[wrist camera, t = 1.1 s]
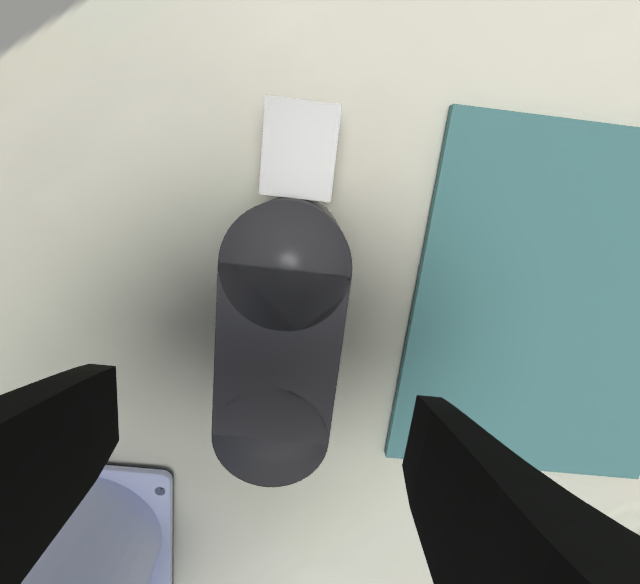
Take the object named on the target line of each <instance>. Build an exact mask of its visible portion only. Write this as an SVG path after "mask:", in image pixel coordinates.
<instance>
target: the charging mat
mask: <svg viewBox="0 0 640 584" xmlns="http://www.w3.org/2000/svg"><path fill="white" fill-rule="evenodd" d="M417 395H423V396H434V397H442V398H444V399H445V400H447V401H448V402H450V403H451V404H452V405H454V406H455V407H456V408H458V409H459V410H460V411H462V412H463V413H464V414H466V415H467V416H468V417H469V418H471V419H472V420H473V421H474V422H476V423H477V424H478V425H480V426H481V427H482V428H483V429H485V430H486V431H487V432H488V433H490V434H491V435H492V436H494V437H495V438H496V439H497V440H499V441H500V442H501V443H503V444H504V445H505V446H506V447H508V448H509V449H510V450H512V451H513V452H514V453H516V454H517V455H518V456H520V457H521V458H522V459H524V460H525V461H526V462H528V463H529V464H531V465H532V466H533V467H535V468H536V469H537V470H539V471H550V472H561V473H573V474H584V475H596V476H608V477H619V478H631V479H638V478H639V475H640V127H632V126H624V125H616V124H608V123H600V122H593V121H585V120H577V119H569V118H561V117H553V116H545V115H537V114H529V113H522V112H514V111H506V110H498V109H490V108H482V107H474V106H466V105H459V104H452V105H451V106H450V108H449V113H448V119H447V124H446V129H445V135H444V140H443V145H442V151H441V156H440V161H439V166H438V172H437V177H436V182H435V188H434V193H433V198H432V203H431V209H430V214H429V219H428V225H427V230H426V235H425V241H424V246H423V251H422V256H421V262H420V267H419V272H418V278H417V283H416V288H415V294H414V299H413V304H412V309H411V315H410V320H409V325H408V331H407V336H406V341H405V346H404V352H403V357H402V362H401V368H400V373H399V378H398V384H397V389H396V394H395V399H394V405H393V410H392V415H391V421H390V426H389V431H388V437H387V442H386V447H385V455H386V457H388V458H400V459H404V454H405V449H406V445H407V440H408V435H409V430H410V425H411V421H412V416H413V411H414V406H415V401H416V396H417Z"/></svg>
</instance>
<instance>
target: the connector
mask: <svg viewBox="0 0 640 584" xmlns="http://www.w3.org/2000/svg"><path fill="white" fill-rule="evenodd" d="M341 109H342V104H336V103H328V102H320V101H312V100H304V99H296V98H288V97H280V96H272V95H265V105H264V121H263V137H262V152H261V168H260V183H259V194H261V195H270V196H279V198H277V199H274V200H271V201H269V202H266V203H263V204H261V205H258V206H255V207H253V208H252V209H250V210H248V211H246V212H245V213H244V214H242V215H241V216H240V217H239V218H238V219H237V220H236V221H235V222H234V223H233V224H232V225H231V227H230V228H229V229H228V231H227V233H226V235H225V236H224V239H223V241H222V244H221V247H220V251H219V257H218V275H217V302H216V329H215V356H214V383H213V410H212V444H213V448H214V451H215V454H216V456H217V458H218V460H219V461H220V462H221V464H222V465H223V466H224V467H225V468H226V469H227V470H228V471H229V472H230V473H231V474H232V475H234V476H236V477H237V478H239V479H241V480H243V481H245V482H247V483H250V484H253V485H257V486H263V487H281V486H286V485H290V484H293V483H296V482H298V481H301V480H302V479H304V478H306V477H307V476H309V475H310V474H311V473H313V472H314V471H315V470H316V469H317V468H318V466H319V465H320V464H321V462H322V461H323V459H324V457H325V455H326V452H327V448H328V443H329V436H330V429H331V421H332V414H333V407H334V400H335V393H336V385H337V378H338V371H339V364H340V356H341V349H342V342H343V335H344V328H345V320H346V313H347V306H348V299H349V292H350V284H351V277H352V258H351V253H350V249H349V246H348V243H347V241H346V239H345V237H344V235H343V233H342V231H341V230H340V228H339V226H338V224H337V222H336V220H335V219H334V217H333V216H332V214H331V213H330V212H329V211H328V210H327V209H326V208H325V207H324V206H323V205H322V204H320V203H319V202H317V201H323V202H331V195H332V187H333V178H334V169H335V161H336V152H337V144H338V135H339V126H340V118H341Z"/></svg>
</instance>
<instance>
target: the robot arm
mask: <svg viewBox="0 0 640 584" xmlns="http://www.w3.org/2000/svg"><path fill="white" fill-rule="evenodd" d="M118 441H119V429H118V406H117V384H116V366H107V365H97V364H87V365H83V366H79V367H76V368H73V369H70V370H67V371H64V372H61V373H58V374H56V375H53V376H50V377H47V378H45V379H42V380H39V381H37V382H34V383H31V384H29V385H26V386H23V387H21V388H18V389H16V390H13V391H10V392H8V393H5V394H2V395H0V584H172V536H173V478H172V475H171V474H170V473H169V472H168V471H166V470H160V469H148V468H136V467H124V466H112V465H106V463H107V462H108V460H109V458H110V456H111V454H112V452H113V450H114V449H115V447H116V445H117V443H118ZM402 466H403V472H404V478H405V484H406V489H407V495H408V500H409V505H410V509H411V512H412V515H413V519H414V522H415V525H416V529H417V532H418V535H419V538H420V542H421V545H422V548H423V551H424V554H425V557H426V561H427V564H428V567H429V570H430V573H431V576H432V580H433V583H434V584H640V536H639V535H638V534H636V533H634V532H633V531H631V530H629V529H627V528H626V527H624V526H623V525H621V524H619V523H618V522H616V521H615V520H613V519H611V518H610V517H608V516H607V515H605V514H603V513H602V512H600V511H599V510H597V509H595V508H594V507H592V506H590V505H589V504H587V503H586V502H584V501H583V500H581V499H580V498H578V497H577V496H575V495H574V494H572V493H570V492H569V491H567V490H566V489H565V488H563V487H562V486H560V485H559V484H557V483H556V482H555V481H553V480H552V479H550V478H549V477H547V476H546V475H545V474H543V473H542V472H540V471H539V470H537V469H536V468H535V467H533V466H532V465H531V464H529V463H528V462H526V461H525V460H524V459H522V458H521V457H520V456H518V455H517V454H516V453H514V452H513V451H512V450H510V449H509V448H508V447H506V446H505V445H504V444H503V443H501V442H500V441H499V440H497V439H496V438H495V437H494V436H492V435H491V434H490V433H488V432H487V431H486V430H485V429H483V428H482V427H481V426H480V425H478V424H477V423H476V422H474V421H473V420H472V419H471V418H469V417H468V416H467V415H466V414H464V413H463V412H462V411H460V410H459V409H458V408H456V407H455V406H454V405H452V404H451V403H450V402H448V401H447V400H445V399H444V398H442V397H434V396H423V395H417V396H416V401H415V406H414V411H413V416H412V421H411V425H410V430H409V435H408V440H407V445H406V449H405V454H404V459H403V464H402ZM159 487H162V488H163V489H160V488H159Z"/></svg>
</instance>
